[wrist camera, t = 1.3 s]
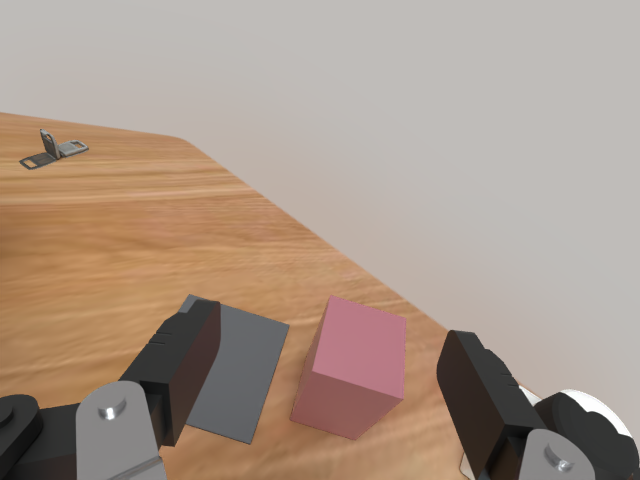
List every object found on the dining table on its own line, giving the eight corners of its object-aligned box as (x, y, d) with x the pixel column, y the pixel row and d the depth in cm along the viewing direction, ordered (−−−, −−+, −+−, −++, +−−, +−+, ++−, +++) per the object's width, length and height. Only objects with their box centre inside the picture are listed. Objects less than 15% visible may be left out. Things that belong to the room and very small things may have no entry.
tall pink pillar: (289, 420, 30) (312, 371, 21) (306, 356, 35) (330, 295, 26) (354, 440, 30) (403, 399, 21) (363, 374, 34) (406, 318, 26)
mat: (121, 403, 28) (120, 402, 28) (189, 295, 37) (189, 294, 36) (250, 444, 28) (250, 443, 28) (289, 326, 37) (289, 324, 36)
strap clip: (79, 143, 52) (69, 118, 49) (91, 151, 51) (82, 126, 48) (19, 163, 46) (4, 137, 43) (31, 173, 45) (17, 146, 42)
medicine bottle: (533, 529, 28) (665, 523, 19) (457, 471, 30) (547, 442, 21) (541, 451, 33) (651, 419, 24) (475, 405, 34) (555, 360, 26)
